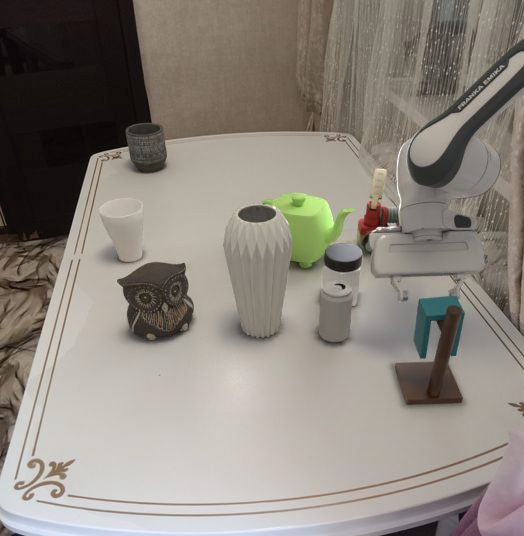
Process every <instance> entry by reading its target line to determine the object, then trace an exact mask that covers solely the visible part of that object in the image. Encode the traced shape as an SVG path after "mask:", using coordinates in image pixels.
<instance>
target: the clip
mask: <svg viewBox="0 0 524 536" xmlns="http://www.w3.org/2000/svg"><path fill="white" fill-rule="evenodd" d="M417 303H418V304H417V311H416V318H415V326H414V335H413V343H414V346H415V348H416V351H417V354H418V357H419V359H420V360H422V359H423V360H425V359H427V354H428V347H429V341H430V333H431V326H432V322H436V321H437V320H444V319H445V314H446V310H447V307H448V306H451V305H455V306H459V307H460V308H461V309H462V311H463V312H462V315H461V319H460V323H459V326H458V330H457V334H456V337H455V341H454V345H453V348H452V352H451V356H450V357H456V356H457V353H458V350H459V345H460V344H459V343H460V339H461V333H462V329H463V324H464V318H465V314H466V312H465V309H464V308H463V306H462V304H461V302H460V301H459V299H457V297H456V296H449V295H446V296H435V297H425V298H418V302H417Z"/></svg>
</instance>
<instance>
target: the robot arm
mask: <svg viewBox="0 0 524 536" xmlns="http://www.w3.org/2000/svg"><path fill="white" fill-rule="evenodd" d="M523 96H524V38H522V39H521V40H519V41H518V42H516V43H515V45H513V46H512V47H511V48H510V49H508V50H507V51H506V52H505V53H504V54H503V55H502V56H501V57H500V58H499V59H497V61H495V62H494V63H493V64H492V65H491V66H490V67H489V68H488V69H487V70H486V71H485V72H484V73H483V74H482V75H480V77H479V78H478V79H477V80H476V81H475V82H474V83H472V85H471V86H470V87H468V89H466V91H464V92H463V94H461V96H460V97H458V99H456V100H455V101H454V102H453V103H452V104H451V105H450V106H449V107H448V108H446V109H445V111H443V112H442V113H440V114H438V115H437V116H436V117H434V118H433V119H431V120H429V121H428V122H426V123H425V124H423V126H421V127H420V128H419V129H418V130H417V131H416V133H414V135H413V136H412V137H411V138H409V139H408V140H406V141H405V142H404V143H403V144H402V145H401V147H400V150H399V152H398V156H397V161H396V188H397V190H396V191H397V193H398V196H399V206H398V207H399V226H400V227H388V228H384V227H379V228H376V230H373V231H372V232H371V233H370V234H369V247H370V249H371V250H372V253H370V254H371V256H370V274H371V275H372V276H373V277H374V279H389V281H390V285H391V287H392V288H393V289H394V291H395V292H396V295H397V302H407V301H409V296H408V295H409V291H408V289H407V290H405V289H403V287H402V286H401V284H400V282H401V281H402V278H424V277H451V276H452V277H453V282H455V284H454V286H453V288H451V289H449V290H448V293H447V294H448V296H456V297H457V299H458V300H459V299H460V298H461V292H460V291H461V289H462V286H463V284H464V282H465V280H466V276H473V275H474V276H475V275H477V274H479V273H481V272H482V271H483V269H484V268H485V263H486V260H485V252H484V247H483V242H482V239H481V236H480V234H479V233H477V232H476V231H475V230H476V229H477V227H478V221H477V218H475V217H473V216H470V215H466V214H463V213H459V212H456V211H453V210H450V209H449V203H450V201H452V200H465V199H472V198H476V197H480V196H482V195H485V194H486V193H487V192H488V191H489V190H490V189H492V187H493V186H495V184H496V183H497V180H498V178H499V176H500V173H501V169H502V160H501V156H500V153H499V151H498V150H497V149H496V148H495V147H493V146H492V145H491V144H489V143H488V142H486V141H484V140H482V139H480V138H478V137H477V136H478V135H479V134H481V132H483V131H484V130H485V129H486V128H487V127H488V126H489V125H490V124H491V123H492V122H494V121H495V120H496V119H497V118H498V117H499V116H500V115H501V114H502V113H503V112H504V111H506V110H507V109H508V108H509V107H510V106H511V105H512V104H513V103H514V102H515V101H517V100H518V99H520V98H521V97H523ZM374 232H376V233H374Z"/></svg>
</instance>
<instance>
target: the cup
mask: <svg viewBox="0 0 524 536" xmlns="http://www.w3.org/2000/svg"><path fill="white" fill-rule="evenodd" d="M98 213H99V216H100V219H101V222H102V224H103V226H104V229H105V231H106V233H107V235H108V236H109V238H110V240H111V242H112V244H113V246H114V248H115V250H116V254H117V257H118V259H119V260H120V261H121V262H124V263H133V262H137V261H139V260H140V259H142V257H143V256H144V255H143V236H144V234H143V233H144V223H145V221H144V220H145V219H144V216H145V213H144V204H143V202H142V201H140V200H139V199H135V198H131V197H122V198H120V197H119V198H114V199H110V200H108V201H106V202H104V203H102V204H101V205H100V207H99V208H98Z"/></svg>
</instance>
